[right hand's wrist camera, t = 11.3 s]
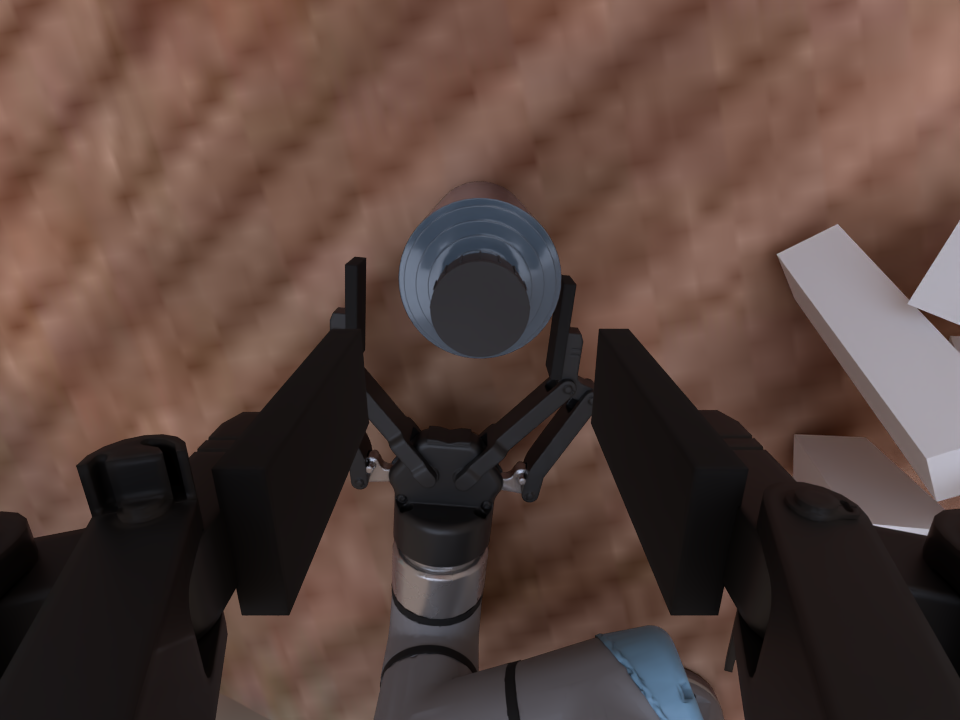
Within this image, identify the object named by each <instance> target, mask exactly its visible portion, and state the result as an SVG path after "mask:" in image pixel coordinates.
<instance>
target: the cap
mask: <svg viewBox="0 0 960 720" xmlns="http://www.w3.org/2000/svg"><path fill="white" fill-rule="evenodd" d="M433 290H434V292H433V295H432V299H431V304H430V314H431V320H432V323H433V326H434V328H435V331H436V332H437V334H438V336H439V337H440V338H441V339H442V341H443V342H444V343H445V344H446V345H447V346H449V347H450V348H452V349H453V350H455V351H457V352H459V353H461V354H464V355H467V356H472V357H488V356H493V355H496V354H499V353H501V352H503V351H505V350H507V349H508V348H510V347H511V346H512V345H514V344H515V343H516V342H517V341H518V339H519V338H520V337H521V335H522V334H523V332H524V330H525V328H526V326H527V323H528V320H529V314H530V305H529V299H528V295H527V292H526V291H527V287H526V284H525V281H522V278H521V277H520V275H519V273H518V272H517V270H516V267H515V266H512V265H511V264H510V263H508V262H507V261H506V260H504V259H502V258H500V256H499V255H498V256H496V255H492V254H488V253H481V251H479V253H472V254H468V255H464V256H463V255H461V257H459V258H458V259H456V260H454V261H453V262H452V263H450V264H449V265H448V266H447V265H446V266H445V268H444V270H443V272H442V273H441V275H440V277H439V278H438V281H437V280H436V281H435V284H434V287H433Z"/></svg>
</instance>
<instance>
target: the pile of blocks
mask: <svg viewBox="0 0 960 720" xmlns="http://www.w3.org/2000/svg"><path fill="white" fill-rule="evenodd" d="M777 256H778V259H779V261H780V264H781V266H782V269H783V271H784V274H785V276H786V279H787V281H788V284H789V286H790V289H791V291H792V294H793V296H794V299H795V300H796V302H797V303H798V305H799V306H800V308H801V309H802V310H803V312H804V313H805V315H806V316H807V318H808V319H809V320H810V322H811V323H812V325H813V326H814V328H815V329H816V330H817V332H818V333H819V335H820V336H821V338H822V339H823V340H824V342H825V343H826V345H827V346H828V348H829V349H830V350H831V352H832V353H833V355H834V356H835V358H836V359H837V360H838V362H839V363H840V365H841V366H842V368H843V369H844V370H845V372H846V373H847V375H848V376H849V378H850V379H851V380H852V382H853V383H854V385H855V386H856V388H857V389H858V390H859V392H860V393H861V395H862V396H863V398H864V399H865V400H866V402H867V403H868V405H869V406H870V407H871V409H872V410H873V412H874V413H875V415H876V416H877V417H878V419H879V420H880V422H881V423H882V425H883V426H884V427H885V429H886V430H887V432H888V433H889V435H890V436H891V437H892V439H893V440H894V442H895V443H896V445H897V446H898V447H899V449H900V450H901V452H902V453H903V455H904V456H905V457H906V459H907V460H908V462H909V463H910V465H911V466H912V467H913V469H914V470H915V472H916V473H917V475H918V476H919V477H920V479H921V480H922V482H923V483H924V485H925V486H926V487H927V489H928V490H929V492H930V493H931V495H932V496H933V497H934V499H935V500H936V501H935V500H934V499H933V498H932V497H931V496H930V495H929V494H928V493H927V492H925V491H924V490H923V489H922V488H921V487H920V486H919V485H918V484H917V483H916V482H914V481H913V480H912V479H911V478H910V477H909V476H908V475H907V474H906V473H905V472H903V471H902V470H901V469H900V468H899V467H898V466H897V465H896V464H895V463H894V462H892V461H891V460H890V459H889V458H888V457H887V456H886V455H885V454H884V453H883V452H881V451H880V450H879V449H878V448H877V447H876V446H875V445H874V444H873V443H872V442H870V441H869V440H868V439H867V438H866V437H850V436H826V435H802V434H794V453H793V478H794V479H795V480H796V481H797V482H805V483H809V484H814V485H818V486H822V487H825V488H827V489H829V490H832V491H834V492H837V493H839V494H842V495H843V496H845V497H846V498H848V499H849V500H851V501H853V502H854V503H856V504H857V505H858V506H859V507H860V508H861V509H862V510H863V511H864V512H865V513H866V515H867V516H868V517H869V519H870V521H871V523H872V524H873V525H875V526H879V527H884V528H889V529H895V530H900V531H905V532H911V533H916V534H921V535H926V536H927V535H928V532H929V529H930V527H931V524H932V521H933V519H934V516H935V515H937V514H938V513H940V512H941V511H943V510H945V509H944V508H943V507H942V506H941V505H940V504H939V503H938V502H937V501H941V500H945V499H948V498H952V497H955V496H959V495H960V336H950V338H949V342H948V341H947V339H946V338H945V337H944V336H943V335H942V334H941V333H940V332H939V331H938V330H937V329H936V328H935V327H934V326H933V325H932V324H931V322H930V321H929V320H928V319H927V318H926V317H925V316H924V315H923V314H922V313H921V312H920V311H919V310H918V309H921V310H923V311H926V312H928V313H931V314H933V315H936V316H938V317H941V318H943V319H946V320H948V321H951V322H953V323H956V324H958V325H960V221H959V223H958V224H957V226H956V227H955V229H954V231H953V232H952V234H951V235H950V237H949V239H948V240H947V242H946V243H945V245H944V246H943V248H942V250H941V251H940V253H939V254H938V256H937V258H936V259H935V261H934V262H933V264H932V265H931V267H930V269H929V270H928V272H927V273H926V275H925V277H924V278H923V280H922V281H921V283H920V284H919V286H918V288H917V289H916V291H915V292H914V294H913V296H912V297H911V299H910V300H909V299H908V298H907V297H906V296H905V295H904V294H903V293H902V292H901V291H900V290H899V289H898V287H897V286H896V285H895V284H894V283H893V282H892V281H891V280H890V279H889V278H888V277H887V276H886V275H885V274H884V273H883V272H882V270H881V269H880V268H879V267H878V266H877V265H876V264H875V263H874V262H873V261H872V260H871V259H870V258H869V257H868V256H867V255H866V254H865V252H864V251H863V250H862V249H861V248H860V247H859V246H858V245H857V244H856V243H855V242H854V241H853V240H852V239H851V238H850V237H849V235H848V234H847V233H846V232H845V231H844V230H843V229H842V228H841V227H840V226H839V225H838V224H837V225H835V226H833V227H831V228H829V229H827V230H825V231H822V232H820V233H818V234H816V235H814V236H812V237H810V238H808V239H806V240H804V241H802V242H800V243H798V244H796V245H794V246H792V247H790V248H788V249H786V250H784V251H782V252H780V253H778V254H777ZM917 308H918V309H917Z"/></svg>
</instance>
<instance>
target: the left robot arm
mask: <svg viewBox="0 0 960 720" xmlns="http://www.w3.org/2000/svg"><path fill="white" fill-rule="evenodd" d="M575 290H576V284H575V282H574V281H573V280H572V278H571V277H570V276H567V275H561V290H560V295H559V299H558V302H557V305H556V308H555V310H554V312H553V317H552V324H551V331H550V338H549V345H548V352H547V359H546V367H547V370H548V374H549V378H548V379H547V380H545V381H544V382H543V383H542V384H541V385H540V386H538V387H537V388H536V389H535V390H534V391H533V392H532V393H530V394H529V395H528V396H527V397H526V398H525V399H524V400H522V401H521V402H520V403H519V404H518V405H517V406H516V407H514V408H513V409H512V410H511V411H510V412H509V413H508V414H506V415H505V416H504V417H503V418H502V419H501V420H499V421H498V422H497V423H496V424H491V425H490V426H489V427H488V428H487V429H485V430H484V431H483V432H482V433H481V434H480V435H479V436H478V435H477V434H475V433H473V432H471V429H463V428H460V429H453V430H449V429H445V428H442V427H438V426H429V429H425V430H423V431H421V430H420V429H419V427H418V426H417V425H416V424H415V423H414V421H413V420H412V419H411V418H409V417H406V416H405V415H404V414H403V413H402V411H401V410H400V409H399V408H398V407H397V405H396V404H395V403H394V402H393V401H392V399H391V398H390V397H389V396H388V395H387V394H386V392H385V391H384V390H383V389H382V388H381V386H380V385H379V384H378V383H377V382H376V380H375V379H374V378H373V377H372V376H371V375H370V373H369V372H368V371H367V370H366V369H365V367H364V370H365V382H366V394H367V406H368V418H369V420H370V421H371V422H372V423H373V424H374V426H375V427H376V428H377V429H378V430H379V431H380V432H381V434H382V435H383V436H384V437H385V438H386V439H387V441H388V442H389V446H390V448H391V450H392V451H393V452H394V453H395V455H396V457H395V459H394V460H393V461H392V463H387V462H385V461H383V459H382V457H381V455H380V454H379V452H378V451H377V450H373V451H372V446H371V442H370V440H369V437H368V435H367V433H366V432H365V434H364V436H363V439H362V441H361V444H360V446H359V448H358V451H357V453H356V456H355V458H354V460H353V463H352V465H351V468H350V477H351V483H352V486H353V487H354V488H356V489H364V488H366V486H367V485H368V482H375V481H390V483H391V485H392V486H393V488H394V492H395V505H394V532H393V533H394V543H393V560H392V602H391V616H390V628H389V636H388V641H387V647H386V652H385V657H384V662H383V668H382V674H381V682H380V693H379V698H378V702H377V707H376V712H375V716H374V720H724V717H723V713H722V709H721V707H720V704H719V702H718V700H717V697H716V695H715V693H714V691H713V689H712V688H711V687H710V685H709V684H708V683H707V682H706V681H705V680H704V679H702V678H701V677H700V676H698V675H697V674H695V673H693V672H691V671H689V670H686V669H684V667H683V665H682V662H681V660H680V657H679V655H678V652H677V650H676V647H675V645H674V643H673V641H672V639H671V637H670V636H669V634H668V633H667V632H666V631H664V630H663V629H662V628H660V627H657V626H651V625H647V626H642V627H637V628H632V629H627V630H622V631H617V632H611V633H606V634H598V635H595V638H593V639H590V640H586V641H583V642H580V643H577V644H573V645H570V646H567V647H564V648H561V649H557V650H554V651H551V652H548V653H544V654H541V655H538V656H535V657H532V658H528V659H525V660H522V661H521V660H519V661H515V662H512V663H507V664H504V665H500V666H497V667H493V668H489V669H486V670H482V671H479V672H478V644H479V627H480V615H481V602H482V596H483V590H484V585H485V576H486V567H487V558H488V549H489V548H488V544H489V540H490V532H491V524H492V515H493V506H494V500H495V497H496V496H497V494H498V493H499V492H500V491H501V490H505V491H511V492H516V493H521V494H522V498H523V500H524V501H526V502H533V501H535V500H536V499H537V498H538V495H539V492H540V488H541V485H542V481H543V478H544V476H545V475H546V474H547V473H548V471H549V470H550V469H551V467H552V466H553V465H554V463H555V462H556V461H557V460H558V458H559V457H560V456H561V454H562V453H563V452H564V450H565V449H566V448H567V447H568V445H569V444H570V443H571V441H572V440H573V439H574V437H575V436H576V435H577V434H578V432H579V431H580V430H581V428H582V427H583V426H584V424H585V423H586V422H587V421H588V419H589V418H590V417H591V415H592V406H593V394H594V382H593V381H592V380H591V379H584V378H582V377H580V376H578V370H579V364H580V358H581V352H582V346H583V339H582V335H581V333H580V331H579V329H578V328H574V327H570V323H571V316H572V310H573V303H574V297H575ZM365 313H366V258H363V257H354V258H353V259H351V260H350V261H349V262H348V263H346V264H345V308H341V307H338V308H337V309H336V310H335V311H334V312H333V314H332V316H331V319H330V330H331V329H361V335H362V346H363V352H364V351H365ZM560 406H561V407H560ZM559 407H560V409H559V410H558V412H557V413H556V414H555V416H554V417H553V418H552V420H551V421H550V422H549V424H548V425H547V426H546V428H545V429H544V430H543V432H542V433H541V434H540V436H539V437H538V439H537V440H536V441H535V443H534V444H533V445H532V447H531V448H530V449H529V451H528V453H527V455H526V457H525V459H524V462H522V461H519V462H517V464H516V465H515V466H514V467H513V469H512V470H511V471H509V472H502V469H501V467H500V465H499V464H498V463H499V462H500V461H501V460H503V459H504V457H505V456H506V454H507V452H508V451H509V450H510V449H511V448H512V447H513V446H514V445H516V444H517V443H518V442H519V441H520V440H521V439H523V438H524V437H525V436H526V435H527V434H529V433H530V432H531V431H532V430H533V429H534V428H536V427H537V426H538V425H539V424H540V423H542V422H543V421H544V420H545V419H546V418H547V417H549V416H550V415H551V414H552V413H553V412H555V411H556V410H557V409H558V408H559Z"/></svg>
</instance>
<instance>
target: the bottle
mask: <svg viewBox="0 0 960 720" xmlns="http://www.w3.org/2000/svg"><path fill="white" fill-rule="evenodd" d="M479 251H481V253H488V254H492V255H496V256H498V255H499V256H500V258H502V259H504V260H506V261H507V262H508V263H510V264H511V265H512V266H515V267H516V270H517V272H518V273H519V275H520V277H521V278H522V281H525V284H526V287H527V291H526V292H527V295H528V299H529V305H530V314H529V320H528V323H527V326H526V328H525V330H524V332H523V334H522V335H521V337H520V338H519V339H518V341H517V342H516V343H515V344H514V345H512V346H511V347H510V348H508V349H507V350H505V351H503V352H501V353H499V354H496V355H493V356H488V357H472V356H467V355H464V354H461V353H459V352H457V351H455V350H453V349H452V348H450V347H449V346H447V345H446V344H445V343H444V342H443V341H442V339H441V338H440V337H439V336H438V334H437V332H436V331H435V328H434V326H433V323H432V320H431V314H430V304H431V299H432V295H433V292H434V290H433V287H434V284H435V281H436V280H437V281H438V278H439V277H440V275H441V273H442V272H443V270H444V268H445V266H446V265H447V266H448V265H449V264H450V263H452V262H453V261H454V260H456V259H458V258H459V257H461V255H463V256H464V255H468V254H472V253H479ZM399 289H400V295H401V299H402V302H403V305H404V308H405V310H406V312H407V314H408V317H409V318H410V320H411V321H412V323H413V324H414V326H415V327H416V328H417V329H418V331H419V332H420V333H421V334H422V335H423V336H424V337H425V338H426V339H428V340H429V341H430V342H432V343H433V344H434V345H436V346H437V347H439V348H441V349H443V350H445V351H447V352H450V353H452V354H455V355H459V356H462V357H468V358H492V357H497V356H502V355H505V354H508V353H510V352H513V351H515V350H517V349H519V348H521V347H523V346H524V345H526V344H527V343H528V342H530V341H531V340H532V339H534V338H535V337H536V336H537V335H538V334H539V333H540V332H541V331H542V329H543V328H544V327H545V326H546V324H547V323H548V321H549V320H550V318H551V316H552V314H553V312H554V310H555V308H556V305H557V302H558V299H559V295H560V290H561V267H560V262H559V257H558V254H557V251H556V248H555V246H554V244H553V242H552V240H551V238H550V236H549V235H548V234H547V232H546V231H545V229H544V228H543V227H542V226H541V224H540V223H539V222H538V221H537V220H536V219H535V218H534V217H533V215H532V214H531V213H530V212H529V211H528V210H527V209H526V208H525V206H524V205H523V204H522V203H521V202H520V201H519V200H518V199H517V197H516V196H515V195H514V194H512V193H511V192H510V191H509V190H507V189H505V188H504V187H502V186H500V185H497V184H494V183H491V182H484V181H476V182H470V183H466V184H463V185H460V186H458V187H456V188H455V189H453V190H451V191H450V192H449V193H448V194H446V195H445V196H444V197H443V198H442V200H441V201H440V202H439V203H438V204H437V205H436V206H435V207H434V209H433V210H432V211H431V212H430V213H429V214H428V215H427V216H426V218H425V219H424V220H423V221H422V222H421V223H420V224H419V226H418V227H417V228H416V229H415V231H414V232H413V233H412V235H411V236H410V238H409V240H408V242H407V244H406V246H405V248H404V251H403V254H402V257H401V262H400V266H399Z"/></svg>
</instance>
